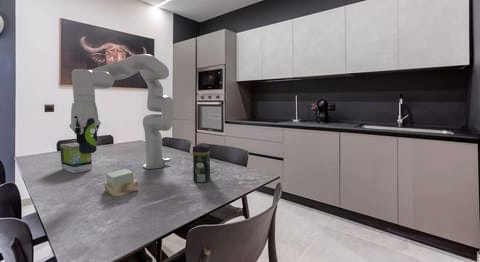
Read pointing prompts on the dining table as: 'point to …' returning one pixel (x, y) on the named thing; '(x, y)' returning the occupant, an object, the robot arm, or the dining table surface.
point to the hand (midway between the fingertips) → (87, 141)
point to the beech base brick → (121, 188)
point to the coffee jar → (201, 163)
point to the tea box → (74, 158)
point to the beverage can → (88, 138)
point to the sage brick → (119, 177)
